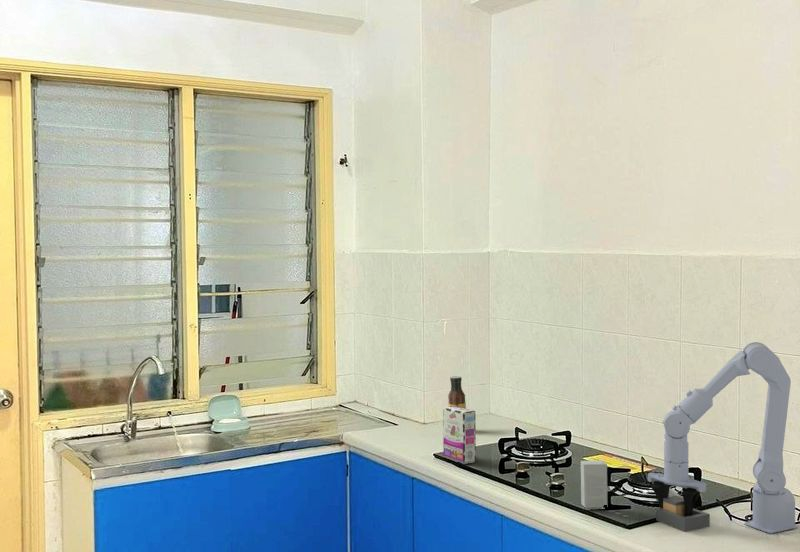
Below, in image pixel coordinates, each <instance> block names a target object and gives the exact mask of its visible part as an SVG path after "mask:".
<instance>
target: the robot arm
mask: <svg viewBox="0 0 800 552" xmlns="http://www.w3.org/2000/svg"><path fill="white" fill-rule="evenodd" d="M749 370H751V371H752V372H754V373H756V374H757V375H759V376H760V377H762V378H763V379H764V381H765V382H766V383H767V385H768V386H767V393H766V395H767V396H766V401H765V410H764V418H763V419H764V421H763V429H762V436H761V444H760V445H761V447H760V449H759V453H758V456H757V457H758V458H757V460H756V462H755V463H754V465H753V467H752V473H753V476H754V478H755V479H756V483H754V485H753V486H752V520H748V521H744V525H745V526H748V527H751V528H754V529H757V530H759V531H762V532H764V533H767V534H774V533H776V534H777V533H779V532H784V531H787V530H788V531H789V530H794V529H797V528H799V526H798V525H797V524H796V499H795V496H794V494H793V493H792V491H791V490H789V489H788V488H787V487H786V484H787V479H786V475H785V473H784V455H783V451H784V444H785V436H786V435H785V433H786V428H787V427H786V426H787V420H788V419H787V418H788V408H789V398H790V391H791V377H790V376H789V373H788V372H787V370H786V369H785V366H784V365H783V363H782V361H781V359H780V357H779V356H778V355H777V354H776V353H775V352H773V351H772V350H771V349H770V348H769V347H767V345H765V344H764V343H762V342H759V341H758V342H757V341H756V342H755V341H754V342H750V343H747V345H745V346H744V348H743V350H742V349H741V350H739V352H737V353H736V354H734V356H733V357H732V358H730V359H729V361H728V362H726V363H725V365H724V366H723V367H722V368H721V369H720V370H719V371H717V373H716V374H715V375H714V376H713V377H712V378H711V379H710V380H709V382H707V383H706V385H704V387H703V388H694V389H693V390H688V391H687V392H686V393H685V395H686V397H684V399H683V400H681V402H679V403H678V404H677V406H676V405H674V406H673V407H672V410H671V411H669V412H668V413H666V414H665V416H664V418H663V421H662V422H663V427H664V430H665V431H664V442H663V466H664V467H663V468H664V469H663V473H659V472H658V473H657V472H653V471H652V472H649V473H647V482H649V483H652V482H653V484H652V485H651V489H652V490H653V492H654V494H655V496H656V498H657V501H658V505H659V508H662V509H663V498H666V497H668V496H669V489H670V488H671V486H672V487H678V488H683V489H685V490H683V491H681V494H682V495H681V496H683V499H684V516H685V517H687V516H692V511H693V508H694V507H695V505H696V502H697V500H698V498H699V497H700V495H701V493H704V492H706V491H707V483H706V482H703V481H699V480H696V479H694V478H690V477H689V442H688V434H689V432H690V429H691V425H694V424H696V422H697V421H699V420H700V419H701V418H702V417H703V416H704V415H705V414H706V413H707V411H709V410H710V409H711V408H712V407H713V405H714V403H713V402H714V401H713V400H714V399H713V398H715V397H716V396H717V395H718V394H719V393H720V392H721V391H722V390H724V389H725V388H726V387H727V386H728V385H729V384H731V382H733V381H734V380H735V379H736V378H738V377H741V376H747V375H748V376H749V375H751V372H750V371H749ZM694 509H695V508H694Z"/></svg>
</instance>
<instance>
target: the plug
mask: <svg viewBox="0 0 800 552" xmlns="http://www.w3.org/2000/svg"><path fill="white" fill-rule="evenodd" d="M663 509H665V510H667V511H670V512H673V513H675V514H678V515H681V516H683V517H685V516H684V499H683V498H682V497H679V496H672V497H666V498H663Z"/></svg>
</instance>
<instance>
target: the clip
mask: <svg viewBox="0 0 800 552" xmlns="http://www.w3.org/2000/svg"><path fill="white" fill-rule="evenodd" d="M672 496H679V497H682V498H683V495H680V493H678V492H676V491H675V490H673V489H672V488H671V487H670V489H669V496H668V497H672Z"/></svg>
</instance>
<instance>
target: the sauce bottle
mask: <svg viewBox="0 0 800 552" xmlns="http://www.w3.org/2000/svg"><path fill="white" fill-rule="evenodd" d="M449 378H450V379H449V380H450V391H449V393H448V395H447V397H448V403H447V404H448V407H451V406H456V407H460V408H464V409H467V405H466V395H465V392H464V391H463V388H462V379H463V378H462V376H458V375H456V376H450V377H449Z"/></svg>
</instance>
